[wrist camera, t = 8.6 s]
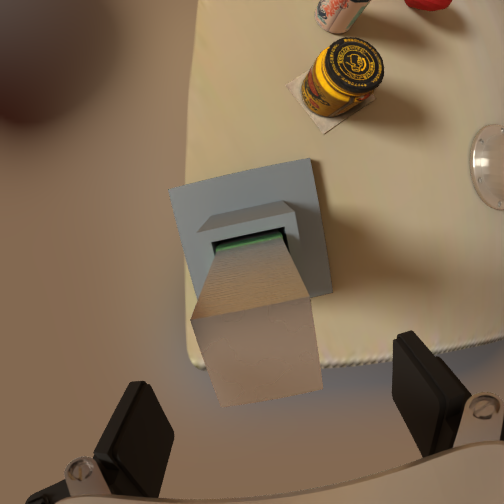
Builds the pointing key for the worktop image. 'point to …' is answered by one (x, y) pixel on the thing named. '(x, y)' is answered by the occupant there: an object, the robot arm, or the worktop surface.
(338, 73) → the condiment
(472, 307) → the worktop surface
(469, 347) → the worktop surface
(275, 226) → the sleeve
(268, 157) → the worktop surface
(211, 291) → the block
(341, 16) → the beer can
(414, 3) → the strawberry
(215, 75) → the worktop surface
